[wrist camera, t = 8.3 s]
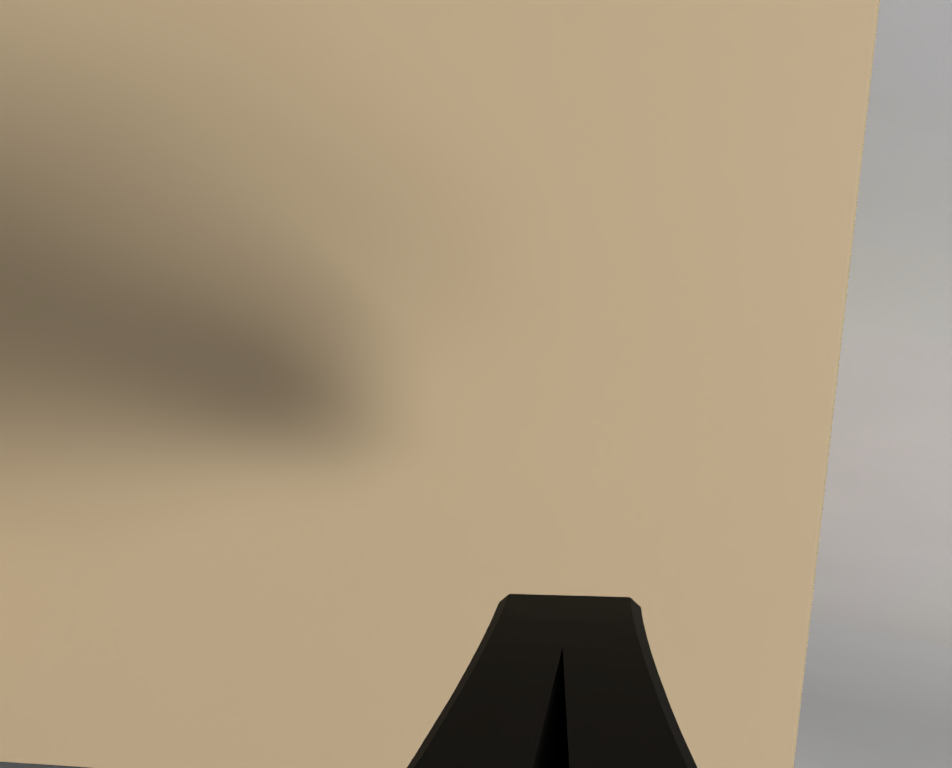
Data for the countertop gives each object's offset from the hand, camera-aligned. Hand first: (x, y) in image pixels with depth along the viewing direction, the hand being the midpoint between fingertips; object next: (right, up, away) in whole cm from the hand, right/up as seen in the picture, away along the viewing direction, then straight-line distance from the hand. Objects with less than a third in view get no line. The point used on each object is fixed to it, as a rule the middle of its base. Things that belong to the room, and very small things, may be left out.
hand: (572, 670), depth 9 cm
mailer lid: (-5, +3, +5) cm, 8 cm away
